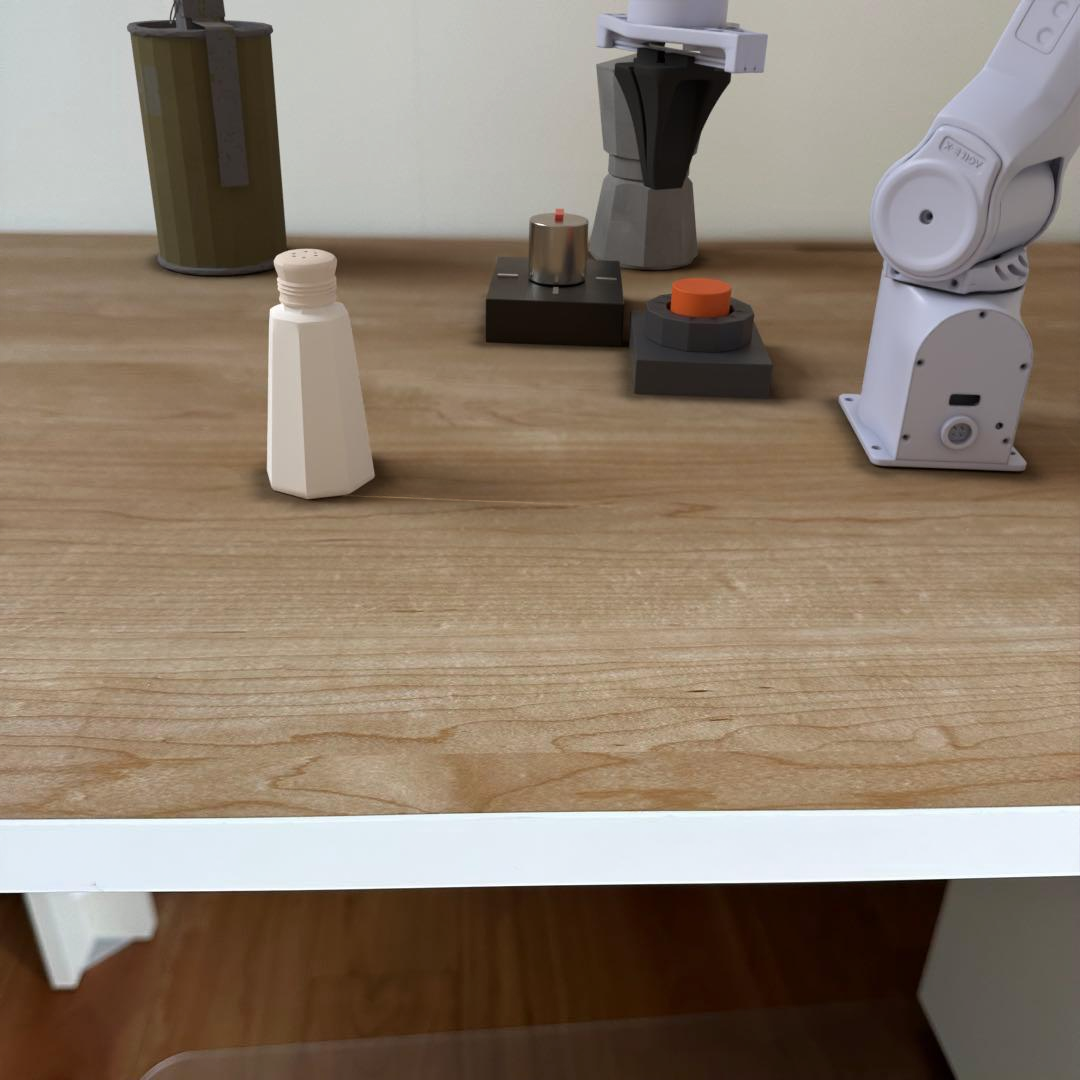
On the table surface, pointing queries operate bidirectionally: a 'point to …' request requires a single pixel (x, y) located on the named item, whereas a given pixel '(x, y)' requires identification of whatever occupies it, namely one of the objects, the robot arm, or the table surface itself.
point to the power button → (701, 297)
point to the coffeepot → (637, 195)
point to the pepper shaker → (314, 384)
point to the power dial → (557, 248)
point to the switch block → (698, 353)
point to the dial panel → (555, 307)
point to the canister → (211, 139)
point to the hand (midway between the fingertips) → (663, 187)
